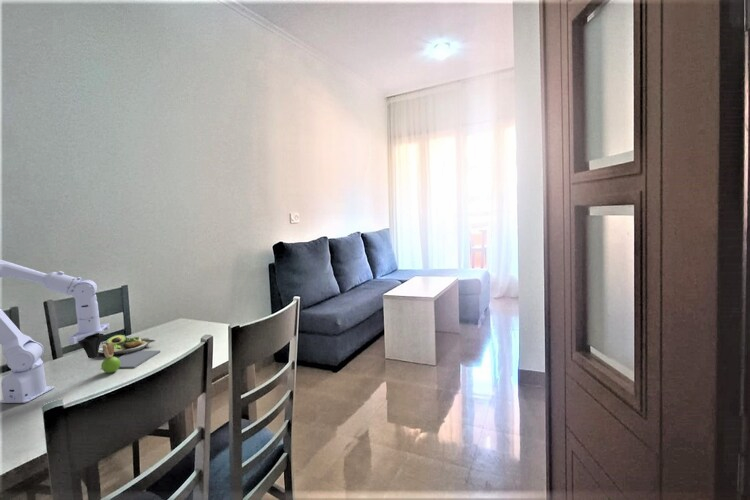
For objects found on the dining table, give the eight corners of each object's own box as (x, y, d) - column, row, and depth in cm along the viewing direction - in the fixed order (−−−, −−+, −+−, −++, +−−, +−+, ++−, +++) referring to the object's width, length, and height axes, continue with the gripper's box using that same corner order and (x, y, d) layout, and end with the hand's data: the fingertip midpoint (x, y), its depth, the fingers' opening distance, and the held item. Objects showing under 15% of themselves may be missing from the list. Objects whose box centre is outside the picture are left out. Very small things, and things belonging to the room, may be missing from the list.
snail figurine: (98, 377, 125) (94, 343, 124) (106, 369, 131) (102, 337, 130) (116, 375, 127) (112, 341, 125) (123, 367, 133) (120, 335, 132)
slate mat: (134, 368, 132) (134, 366, 132) (102, 368, 133) (102, 366, 133) (160, 351, 147) (160, 350, 147) (131, 352, 148) (131, 350, 148)
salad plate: (163, 338, 162) (162, 328, 161) (144, 352, 144) (143, 341, 144) (116, 343, 159) (115, 332, 159) (90, 358, 142) (88, 346, 141)
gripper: (81, 323, 112) (86, 366, 114) (116, 310, 127) (120, 348, 128) (59, 324, 113) (64, 366, 114) (96, 311, 127) (101, 349, 129)
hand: (92, 357), depth 121 cm, fingers closed
